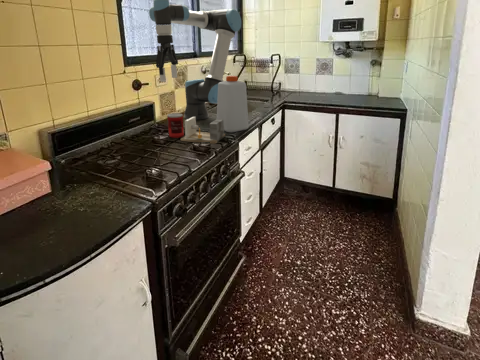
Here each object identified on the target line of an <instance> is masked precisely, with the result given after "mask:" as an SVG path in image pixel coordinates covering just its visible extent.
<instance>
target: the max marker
mask: <svg viewBox="0 0 480 360" xmlns="http://www.w3.org/2000/svg"><path fill="white" fill-rule="evenodd" d="M198 132H199V135H198V138H202V134H200V132H201V127H198Z"/></svg>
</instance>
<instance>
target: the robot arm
mask: <svg viewBox="0 0 480 360" xmlns="http://www.w3.org/2000/svg"><path fill="white" fill-rule="evenodd" d="M170 3H171V2H170V0H153V5H152V6H151V7H150V9H149V10H148V14H149V18H150V20H151V21H152V22H154V24H155V31H156V41H157V44H159V45H157V47H156V50H157V51H156V62H155V66H156V68H157V69H158V72H159V81H160V82H164V83H165V82H166V81H167V80H166V79H167V78H166V69H165V67H164V66H165V62H166V57H167V58H168V60H169V62H170V70H171V78H173V79H175V78H176V79H177V78H178V71H177V70H178V69H177V66H178V65H179V61H178V57H177V54H176V51H175V45H174V44H173V43H174V39H173V38H174V37H173V35H172V34H173V27H172V24H178V25H184V26H193V27H198V28H199V29H202V30H206V31H212V32H215V34H216V39H215V43H214V48H213V52H212V57H211V61H210V67H209V69H208V70H209V71H208V75H206V76H205V77H204V78H198V79H197V78H196V79H192V80H186V81H185V83H184V84H185V85H184V89H185V92H184V93H185V103H186V106H185V110H184V112H183V119H184V120H187V119H189V118H191V117H196V121H197V120H206V119H209V112H208V109H207V106H206V103H210V104H217V99H218V83H219V82H223V81H224V79H223V78H224V74H225V69H226V64H227V60H228V55H229V52H230V47H231V46H230V45H231V43H232V39H233V38H235V35H236V32H239V31H240V30H241V28H242V18H241V15H240V13H239V12H238V11H237V9H234V8H232V9H231V8H228V9H214V10H200V11H194V10H190V9H189V7H188V6H187V5H185V4H170Z"/></svg>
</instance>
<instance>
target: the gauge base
mask: <svg viewBox="0 0 480 360" xmlns="http://www.w3.org/2000/svg"><path fill="white" fill-rule="evenodd" d="M200 134H202V138H198V135H199V131H196V133H194V134H193V135H191V136H190V137H185V136H183V137H180V141H181V142H189V143H190V142H192V143H200V142H210V143H209V144H212V145H213V144H214V145H215V144H217V143H218V142H219V141H221V140H222V139H224V138H225V137H226V133H225V131H224V122H223V119H217V118H216V119H215V120H213V121H211V122H210V123H209V132H206V131H204V132H203V131H200Z"/></svg>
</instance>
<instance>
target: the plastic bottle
mask: <svg viewBox="0 0 480 360" xmlns="http://www.w3.org/2000/svg"><path fill="white" fill-rule="evenodd" d="M225 78H226V79H225V80H223V82H219V83H218V99H217V103H216V104H217V106H216V119H223V122H224V132H225V133H226V132H227V133H235V132H241V131H245V130H248V128H249V114H248V95H247V83H246V82H245V81H240V80H239V79H238V76H237V75H228V76H226V77H225Z"/></svg>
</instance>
